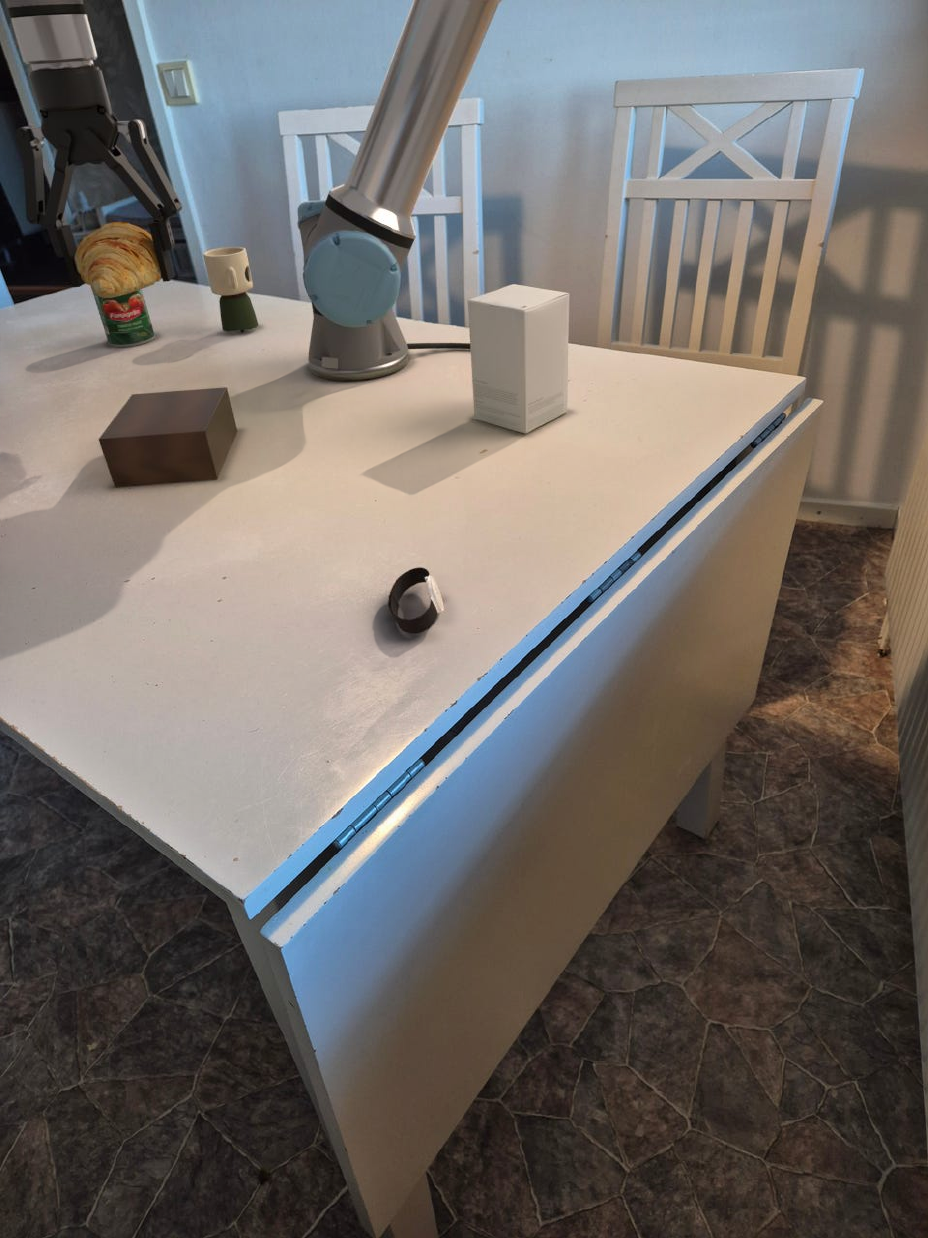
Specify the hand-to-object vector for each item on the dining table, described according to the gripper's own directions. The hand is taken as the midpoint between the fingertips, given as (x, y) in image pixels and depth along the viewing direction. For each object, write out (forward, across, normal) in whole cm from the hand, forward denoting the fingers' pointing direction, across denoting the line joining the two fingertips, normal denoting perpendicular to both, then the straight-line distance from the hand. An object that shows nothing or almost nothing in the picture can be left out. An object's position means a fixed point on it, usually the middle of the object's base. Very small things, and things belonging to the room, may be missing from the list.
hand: (124, 281), depth 100 cm
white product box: (+18, -48, +7) cm, 52 cm away
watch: (+18, -36, +49) cm, 64 cm away
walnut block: (+18, -6, +13) cm, 23 cm away
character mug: (+18, -3, -40) cm, 44 cm away
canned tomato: (+18, +16, -38) cm, 45 cm away
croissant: (0, 0, 0) cm, 0 cm away
